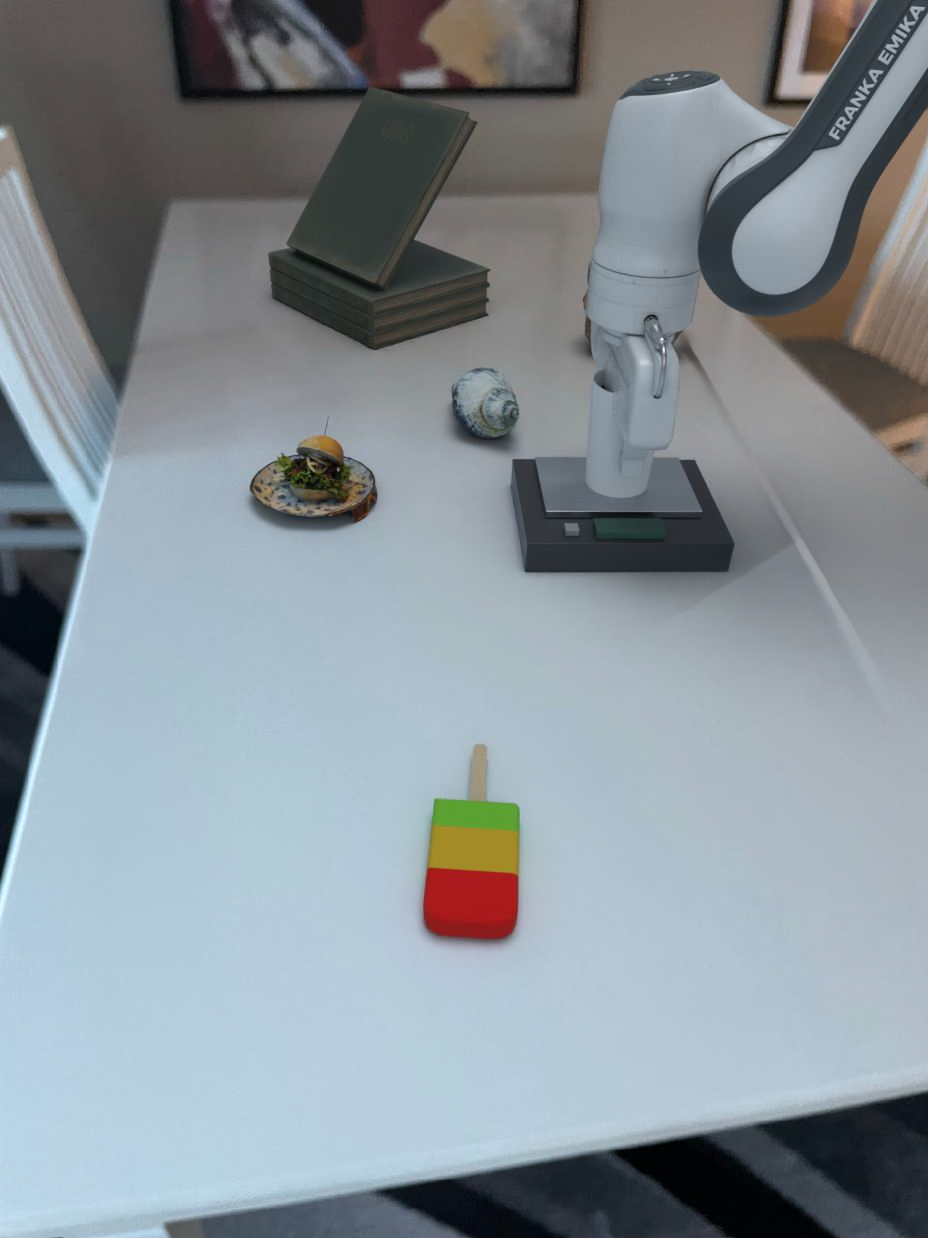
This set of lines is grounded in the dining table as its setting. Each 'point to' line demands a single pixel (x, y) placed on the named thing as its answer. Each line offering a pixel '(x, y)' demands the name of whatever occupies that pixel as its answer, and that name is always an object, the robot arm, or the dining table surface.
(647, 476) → the white hollow cylinder
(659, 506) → the scale pan
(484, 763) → the popsicle
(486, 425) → the seashell
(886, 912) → the dining table surface
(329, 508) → the burger
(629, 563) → the scale
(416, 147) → the stack of books
